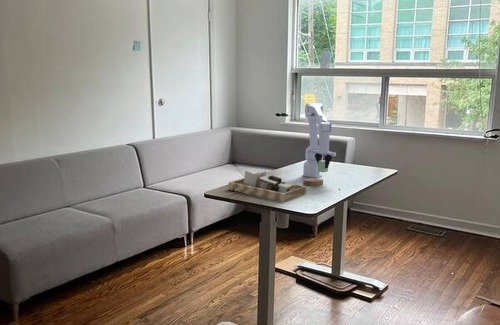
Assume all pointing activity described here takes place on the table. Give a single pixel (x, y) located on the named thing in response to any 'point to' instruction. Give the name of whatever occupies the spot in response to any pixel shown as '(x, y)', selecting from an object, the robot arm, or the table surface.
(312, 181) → the walnut plinth
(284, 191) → the toy
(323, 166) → the green block
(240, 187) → the tray
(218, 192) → the table surface
